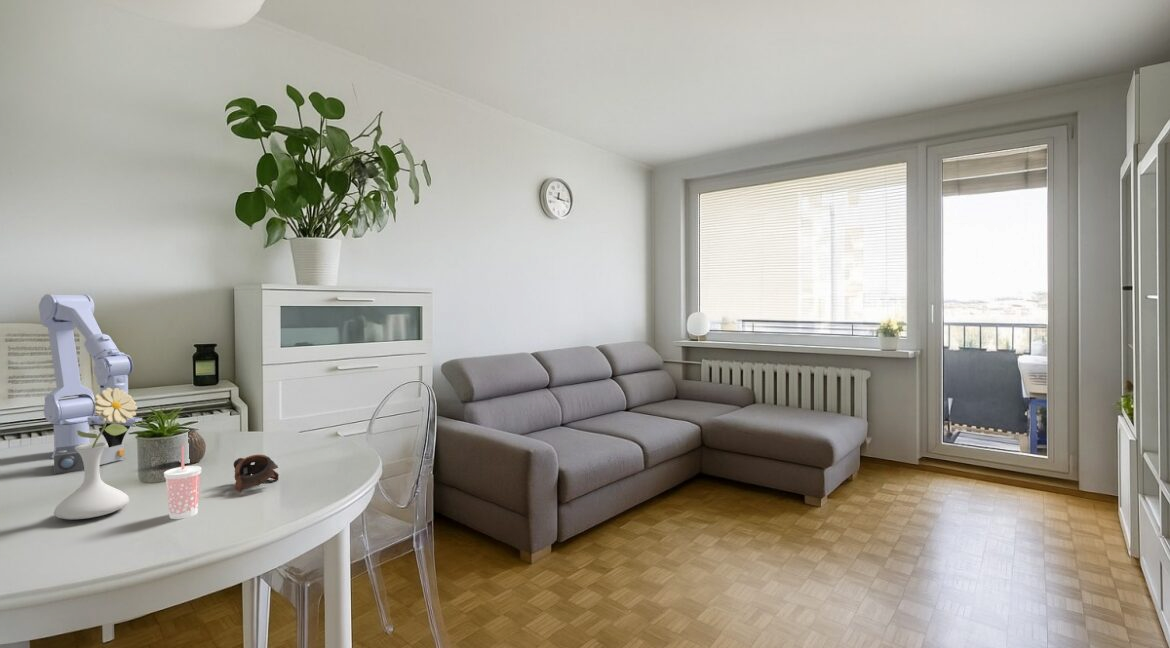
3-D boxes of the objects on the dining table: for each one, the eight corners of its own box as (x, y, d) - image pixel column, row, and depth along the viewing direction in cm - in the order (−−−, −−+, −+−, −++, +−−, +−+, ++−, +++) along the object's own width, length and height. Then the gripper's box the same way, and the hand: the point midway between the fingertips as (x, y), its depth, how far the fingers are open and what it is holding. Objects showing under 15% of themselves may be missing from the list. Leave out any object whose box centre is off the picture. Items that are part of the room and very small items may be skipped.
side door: (122, 458, 149) (122, 444, 149) (126, 458, 149) (126, 444, 149) (88, 467, 141) (88, 452, 141) (93, 467, 141) (92, 452, 141)
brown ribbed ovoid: (212, 459, 150) (211, 427, 150) (191, 466, 144) (191, 432, 143) (188, 458, 151) (188, 426, 151) (167, 465, 144) (166, 432, 144)
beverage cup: (180, 508, 115) (179, 441, 114) (209, 509, 114) (208, 441, 114) (156, 520, 108) (155, 449, 108) (187, 520, 108) (186, 449, 108)
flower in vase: (65, 530, 104) (61, 396, 103) (45, 517, 110) (41, 390, 109) (149, 508, 115) (146, 387, 114) (126, 497, 121) (123, 382, 120)
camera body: (57, 464, 144) (56, 445, 144) (88, 460, 148) (87, 441, 148) (54, 475, 136) (53, 454, 135) (87, 470, 140) (86, 450, 139)
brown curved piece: (291, 482, 133) (285, 458, 129) (258, 511, 126) (250, 486, 121) (252, 465, 136) (245, 441, 132) (218, 493, 129) (208, 468, 124)
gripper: (74, 402, 144) (76, 454, 145) (123, 405, 142) (124, 457, 143) (102, 398, 151) (103, 447, 152) (149, 400, 149) (150, 450, 150)
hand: (115, 452), depth 148 cm, fingers closed, pressing on side door
